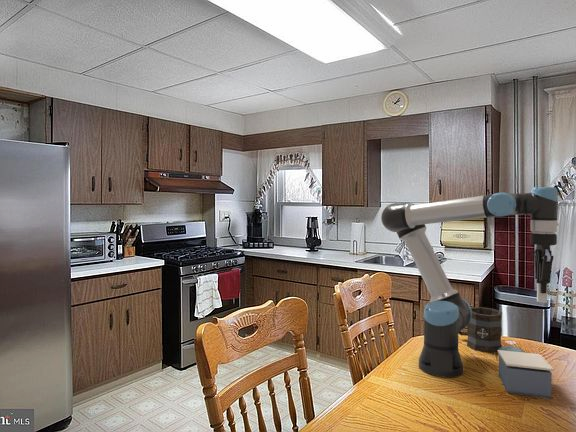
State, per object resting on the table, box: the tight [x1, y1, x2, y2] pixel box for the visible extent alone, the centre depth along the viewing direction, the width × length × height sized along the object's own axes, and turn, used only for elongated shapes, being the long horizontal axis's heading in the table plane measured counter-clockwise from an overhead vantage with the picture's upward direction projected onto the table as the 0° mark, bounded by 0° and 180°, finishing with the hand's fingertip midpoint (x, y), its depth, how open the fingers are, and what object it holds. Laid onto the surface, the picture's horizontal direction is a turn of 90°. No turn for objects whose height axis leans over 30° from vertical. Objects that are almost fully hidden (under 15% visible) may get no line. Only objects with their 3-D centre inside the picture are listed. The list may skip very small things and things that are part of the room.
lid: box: [497, 350, 555, 372], centre depth 129 cm, size 13×14×1 cm
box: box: [497, 354, 553, 400], centre depth 129 cm, size 12×14×8 cm
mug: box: [458, 306, 503, 354], centre depth 166 cm, size 20×14×15 cm
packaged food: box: [498, 345, 526, 353], centre depth 150 cm, size 9×12×5 cm
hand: (541, 301), depth 134 cm, fingers closed
